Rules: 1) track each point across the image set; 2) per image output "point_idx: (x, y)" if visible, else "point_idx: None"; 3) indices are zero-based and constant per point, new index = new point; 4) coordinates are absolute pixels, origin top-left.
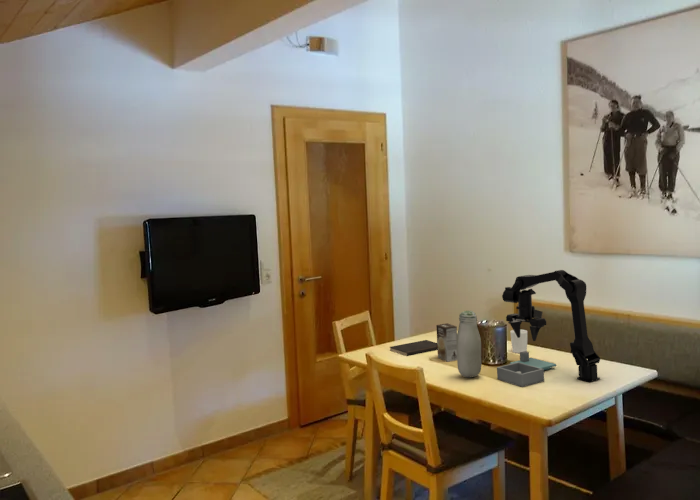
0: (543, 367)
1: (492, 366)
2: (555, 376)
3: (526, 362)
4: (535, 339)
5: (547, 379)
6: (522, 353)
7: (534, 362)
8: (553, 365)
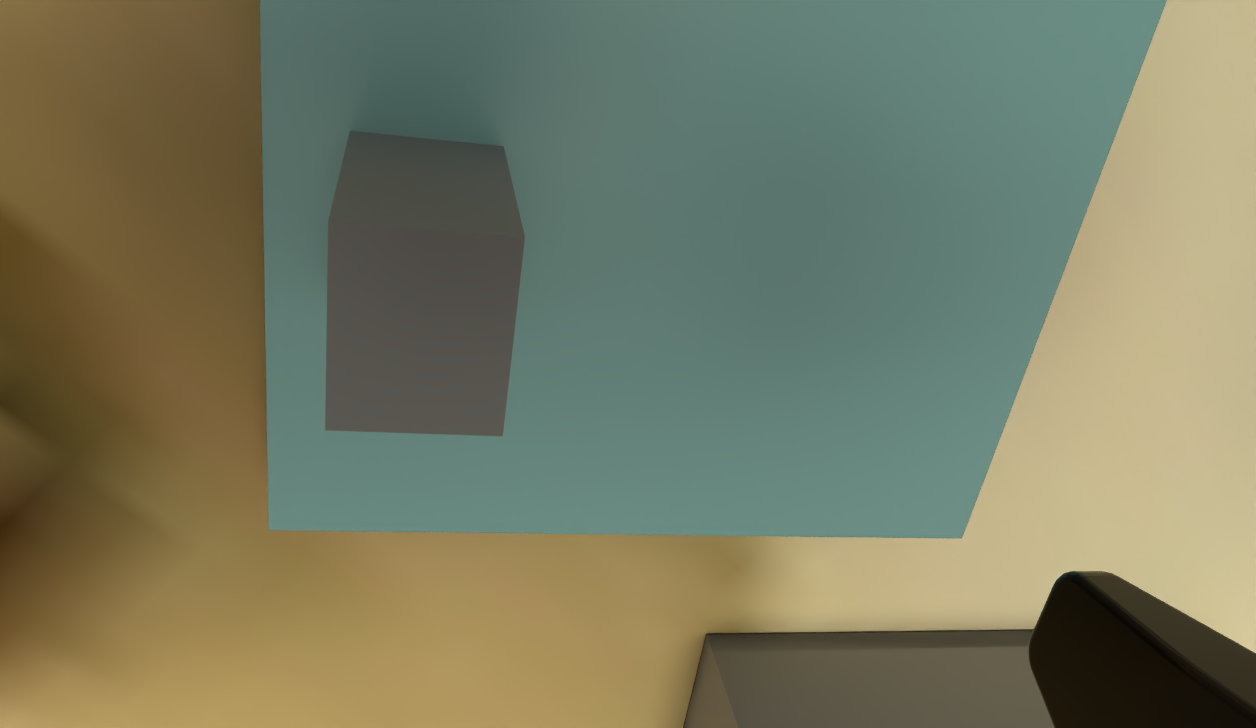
0: (1037, 336)
1: (7, 654)
2: (1252, 361)
3: (542, 291)
4: (1154, 631)
5: (1190, 545)
6: (444, 425)
7: (688, 162)
8: (1144, 26)
